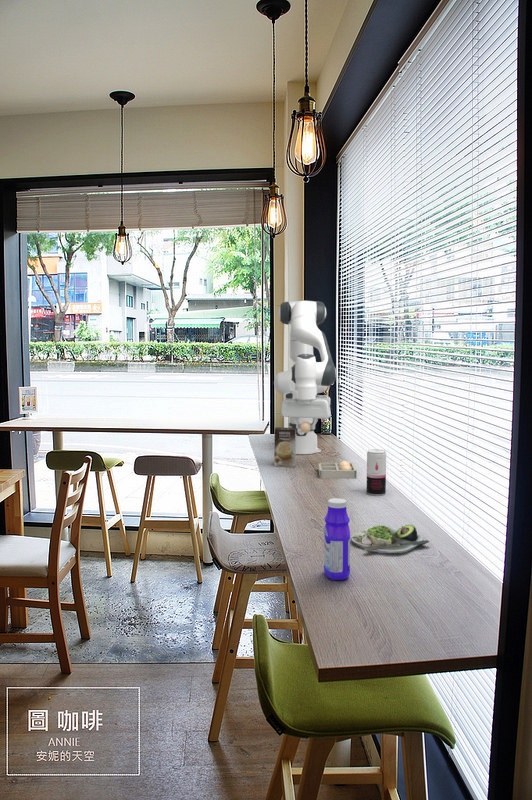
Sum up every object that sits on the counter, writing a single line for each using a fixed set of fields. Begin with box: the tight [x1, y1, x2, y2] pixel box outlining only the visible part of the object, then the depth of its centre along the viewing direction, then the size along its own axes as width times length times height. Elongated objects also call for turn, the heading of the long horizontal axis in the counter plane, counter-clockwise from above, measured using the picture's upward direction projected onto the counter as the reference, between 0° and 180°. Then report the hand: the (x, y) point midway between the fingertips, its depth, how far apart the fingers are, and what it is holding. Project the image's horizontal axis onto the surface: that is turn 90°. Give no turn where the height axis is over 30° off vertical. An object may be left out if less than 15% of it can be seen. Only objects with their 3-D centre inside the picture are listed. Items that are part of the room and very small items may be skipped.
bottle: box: [323, 497, 351, 581], centre depth 128 cm, size 7×6×17 cm
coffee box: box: [273, 426, 297, 468], centre depth 243 cm, size 9×6×16 cm
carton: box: [318, 462, 357, 480], centre depth 225 cm, size 14×14×4 cm
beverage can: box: [366, 449, 387, 496], centre depth 198 cm, size 7×7×15 cm
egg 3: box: [340, 464, 352, 470], centre depth 221 cm, size 5×5×5 cm
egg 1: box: [300, 422, 311, 433], centre depth 230 cm, size 5×5×5 cm
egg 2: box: [339, 460, 350, 466], centre depth 228 cm, size 5×5×5 cm
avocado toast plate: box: [350, 524, 430, 555], centre depth 148 cm, size 19×18×5 cm
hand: (305, 428), depth 230 cm, fingers closed on egg 1, 5 cm apart
